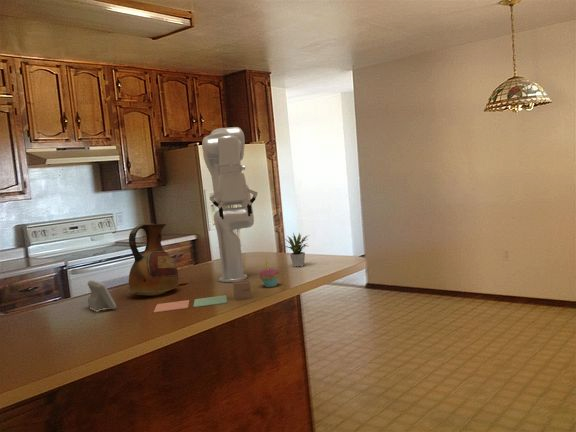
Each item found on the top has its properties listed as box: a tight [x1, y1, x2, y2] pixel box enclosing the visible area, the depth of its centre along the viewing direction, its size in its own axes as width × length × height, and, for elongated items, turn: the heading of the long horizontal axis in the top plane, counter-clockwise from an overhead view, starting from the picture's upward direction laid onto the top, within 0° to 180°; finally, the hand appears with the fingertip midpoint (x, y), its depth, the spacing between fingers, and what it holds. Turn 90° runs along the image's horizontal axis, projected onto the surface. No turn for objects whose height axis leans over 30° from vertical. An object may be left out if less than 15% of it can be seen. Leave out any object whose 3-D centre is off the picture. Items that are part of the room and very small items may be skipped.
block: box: [232, 278, 252, 301], centre depth 194 cm, size 6×6×6 cm
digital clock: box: [87, 279, 117, 310], centre depth 199 cm, size 16×9×11 cm, turn 26°
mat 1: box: [153, 299, 190, 314], centre depth 190 cm, size 12×12×1 cm
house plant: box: [284, 232, 310, 267], centre depth 246 cm, size 14×14×16 cm
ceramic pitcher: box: [128, 223, 179, 296], centre depth 216 cm, size 20×20×30 cm
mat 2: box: [193, 294, 228, 308], centre depth 192 cm, size 12×12×1 cm
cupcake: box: [258, 257, 281, 288], centre depth 209 cm, size 9×8×12 cm
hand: (236, 217), depth 188 cm, fingers open, 9 cm apart
